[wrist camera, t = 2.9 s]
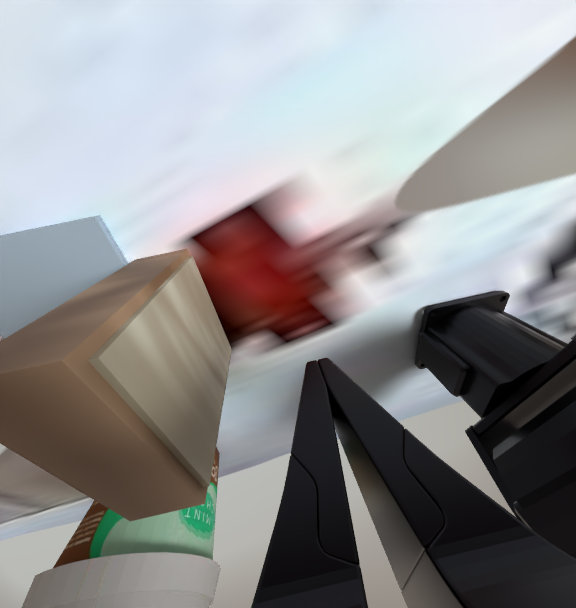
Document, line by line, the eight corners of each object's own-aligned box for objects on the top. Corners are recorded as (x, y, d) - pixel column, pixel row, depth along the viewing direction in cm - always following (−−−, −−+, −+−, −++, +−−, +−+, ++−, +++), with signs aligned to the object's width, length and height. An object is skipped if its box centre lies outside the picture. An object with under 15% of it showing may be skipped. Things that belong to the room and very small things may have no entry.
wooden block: (191, 247, 12) (73, 357, 4) (233, 349, 16) (211, 502, 8) (136, 259, 12) (-85, 392, 4) (192, 359, 16) (130, 521, 8)
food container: (255, 453, 24) (253, 608, 15) (215, 475, 25) (193, 629, 16) (159, 405, 18) (68, 607, 9) (114, 436, 19) (-2, 640, 11)
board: (99, 215, 11) (94, 216, 10) (198, 382, 17) (196, 386, 17) (-79, 252, 11) (-90, 254, 10) (89, 407, 17) (85, 411, 17)
